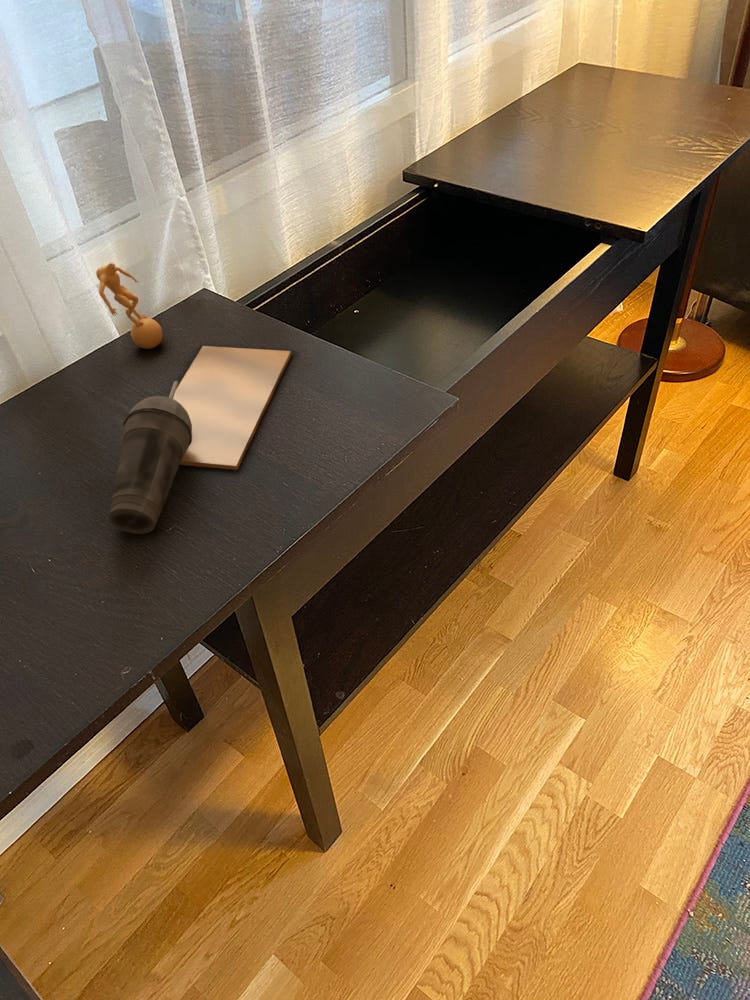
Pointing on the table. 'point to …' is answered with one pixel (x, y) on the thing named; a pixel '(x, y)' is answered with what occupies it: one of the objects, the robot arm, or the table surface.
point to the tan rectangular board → (227, 401)
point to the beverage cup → (149, 461)
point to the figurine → (129, 307)
